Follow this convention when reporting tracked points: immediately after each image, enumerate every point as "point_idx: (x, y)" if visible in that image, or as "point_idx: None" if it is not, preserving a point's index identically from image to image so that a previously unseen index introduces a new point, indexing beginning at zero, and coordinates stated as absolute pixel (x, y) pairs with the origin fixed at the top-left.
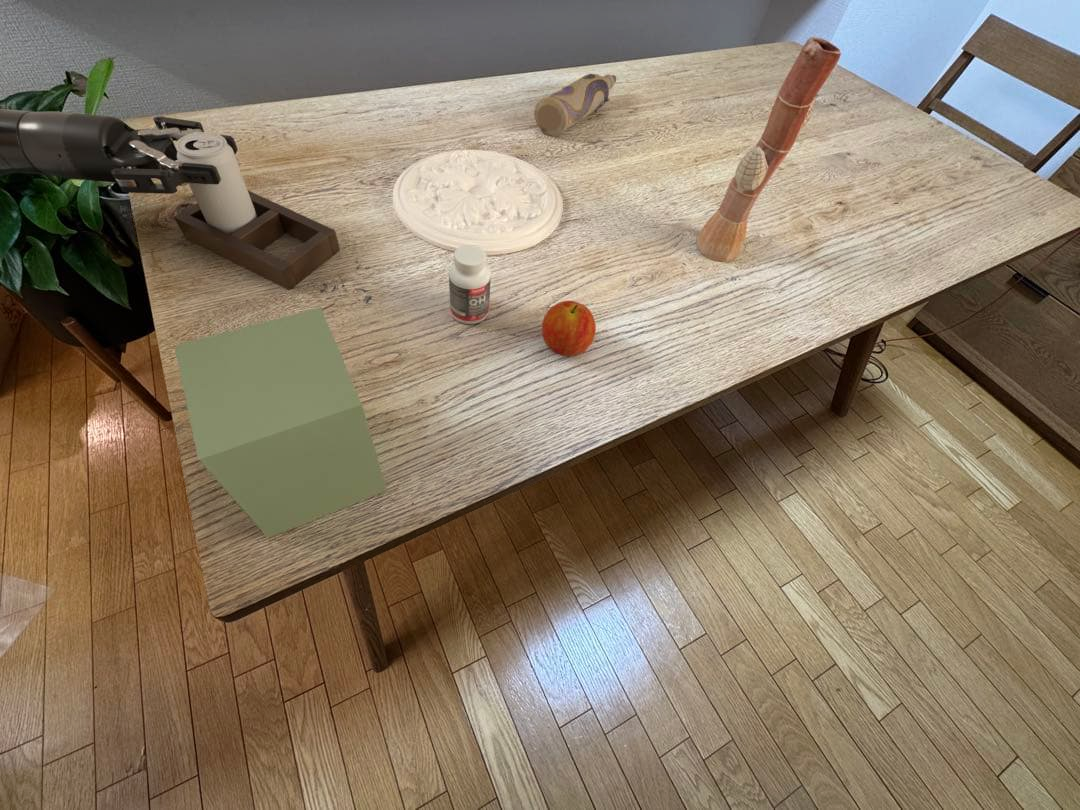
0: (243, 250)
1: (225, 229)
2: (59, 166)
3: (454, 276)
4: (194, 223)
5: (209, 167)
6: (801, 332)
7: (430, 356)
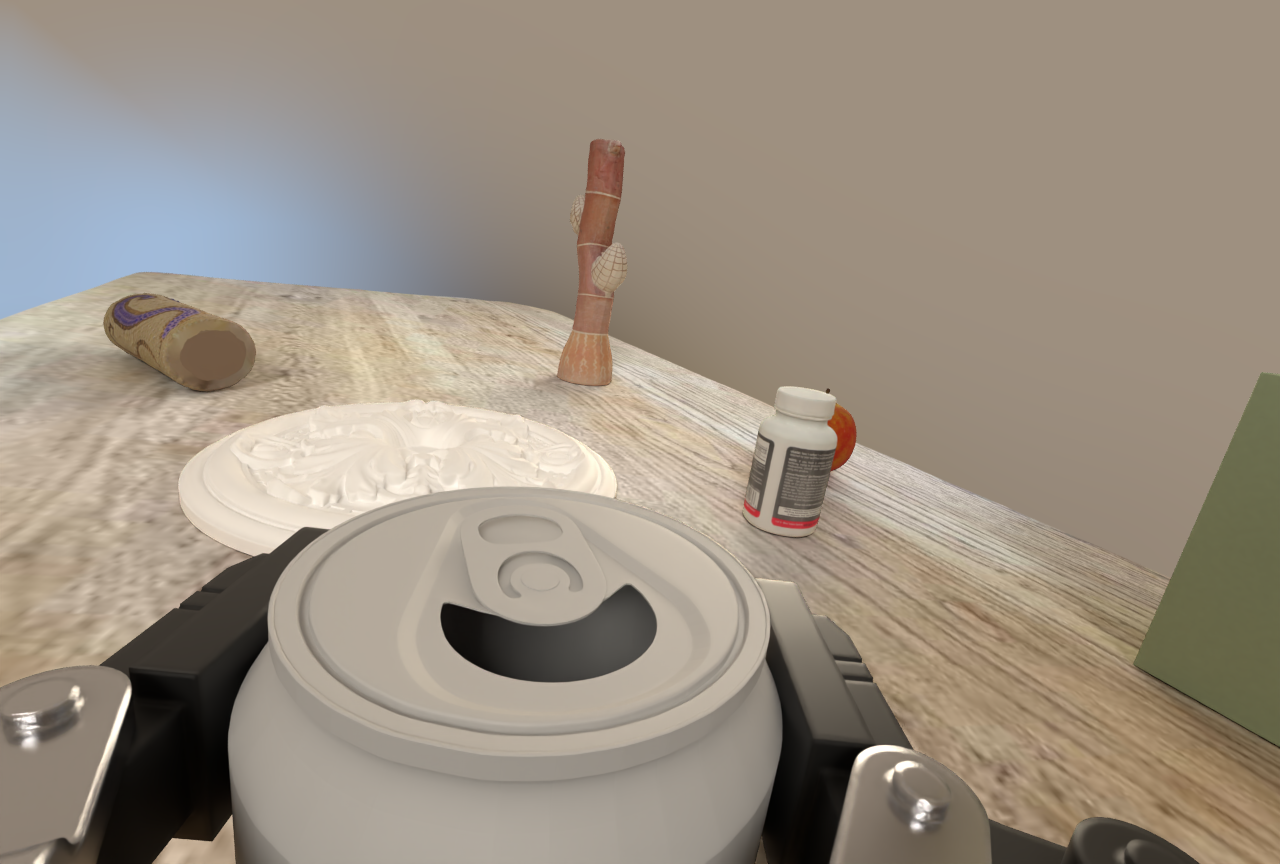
0: None
1: None
2: None
3: (829, 435)
4: None
5: (795, 583)
6: (711, 384)
7: (917, 569)
